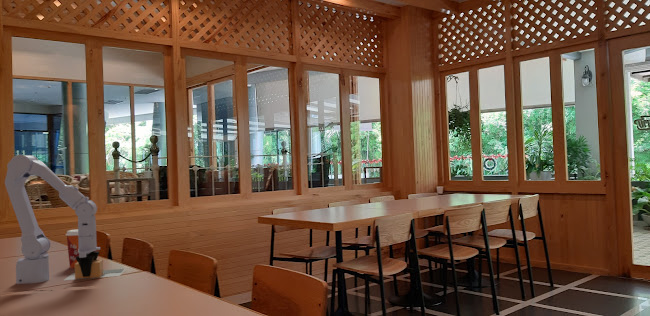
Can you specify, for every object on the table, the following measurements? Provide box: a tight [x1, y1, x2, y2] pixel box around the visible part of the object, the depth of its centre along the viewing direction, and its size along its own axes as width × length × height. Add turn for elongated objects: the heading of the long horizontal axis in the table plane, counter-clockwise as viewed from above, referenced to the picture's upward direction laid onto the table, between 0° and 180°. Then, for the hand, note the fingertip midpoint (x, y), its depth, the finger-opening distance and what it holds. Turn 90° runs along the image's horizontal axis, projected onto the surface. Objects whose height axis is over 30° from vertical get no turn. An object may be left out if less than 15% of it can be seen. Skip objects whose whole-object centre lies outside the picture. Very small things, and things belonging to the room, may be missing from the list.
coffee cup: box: [65, 228, 79, 269], centre depth 196 cm, size 8×8×15 cm
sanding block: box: [74, 259, 104, 280], centre depth 178 cm, size 8×5×5 cm, turn 102°
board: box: [63, 268, 126, 281], centre depth 181 cm, size 18×12×1 cm, turn 102°
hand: (88, 274), depth 177 cm, fingers closed on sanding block, 5 cm apart
